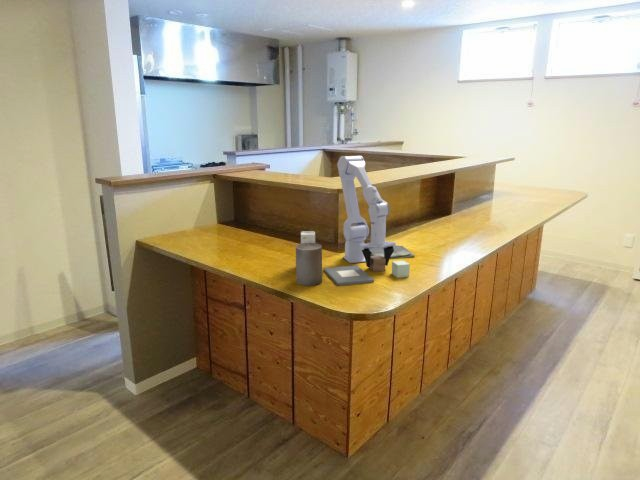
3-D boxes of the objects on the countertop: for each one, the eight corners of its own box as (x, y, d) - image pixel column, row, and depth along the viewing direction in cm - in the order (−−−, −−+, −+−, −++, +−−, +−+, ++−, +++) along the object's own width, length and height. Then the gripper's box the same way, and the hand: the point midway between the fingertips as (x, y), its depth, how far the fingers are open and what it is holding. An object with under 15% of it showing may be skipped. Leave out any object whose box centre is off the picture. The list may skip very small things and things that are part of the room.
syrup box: (314, 264, 187) (314, 230, 183) (315, 269, 181) (315, 234, 177) (301, 264, 187) (300, 230, 183) (300, 269, 181) (300, 234, 177)
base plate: (323, 270, 180) (323, 267, 179) (357, 267, 183) (357, 265, 183) (337, 285, 163) (337, 282, 163) (374, 282, 166) (374, 279, 166)
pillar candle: (321, 277, 172) (321, 238, 168) (322, 285, 162) (322, 245, 159) (296, 277, 172) (295, 239, 168) (295, 286, 162) (294, 246, 158)
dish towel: (376, 261, 193) (377, 254, 192) (362, 250, 210) (362, 244, 209) (416, 258, 198) (416, 251, 197) (398, 247, 215) (399, 241, 214)
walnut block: (368, 268, 183) (369, 256, 182) (380, 267, 184) (380, 255, 183) (373, 271, 178) (373, 259, 177) (385, 270, 180) (385, 258, 178)
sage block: (391, 273, 176) (392, 261, 175) (403, 272, 178) (403, 260, 176) (397, 277, 172) (397, 265, 170) (409, 276, 173) (409, 264, 172)
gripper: (364, 236, 172) (363, 270, 175) (399, 233, 176) (397, 267, 179) (358, 232, 179) (357, 264, 182) (391, 229, 182) (390, 262, 186)
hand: (377, 265), depth 181 cm, fingers open, 7 cm apart
